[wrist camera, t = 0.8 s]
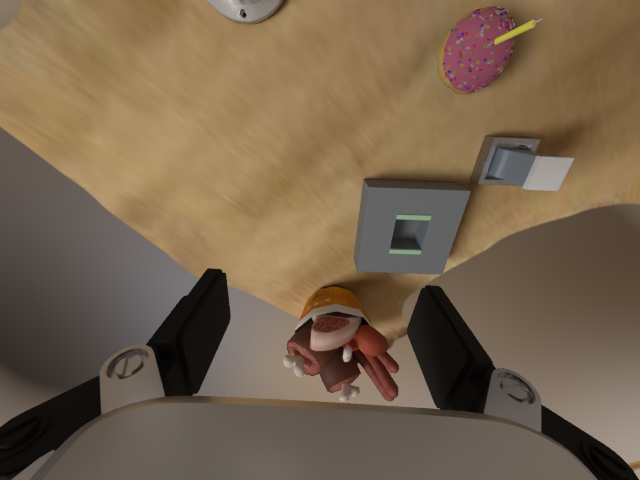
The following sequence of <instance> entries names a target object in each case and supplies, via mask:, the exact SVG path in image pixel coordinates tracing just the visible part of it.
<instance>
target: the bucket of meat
mask: <svg viewBox="0 0 640 480" xmlns="http://www.w3.org/2000/svg"><path fill="white" fill-rule="evenodd" d="M388 347H389V345H388V342H387V339H386V338H385V337H384V336H383V335H382V334H381V333H379V332H378V331H377V330H376V329H375V328H373V326H372V324H371V322H370V320H369V319H368V317H367V315H366V313H365V311H364V309H363V308H362V306H361V304H360V302H359V301H358V299H357V298H356V297H355V296H354V294H353V293H352V292H351V291H350V290H347V289H343V288H339V287H335V286H333V287H328V288H324V289H320V290H317V291H316V292H315V293H314V294H313V295H312V296H311V297H310V298H309V299H308V300H307V302H306V305H305V308H304V310H303V313H302V315H301V318H300V320H299V323H298V325H297V327H296V330H295V334H294V335H293V337H292V338H291V339H290V340H289V341H288V343H287V350H288V353H289V355H286V356H285V358H284V359H283V362H284V365H285V366H286V367H288V368H293V367H294V372H295V374H296V375H297V377H304V376H306V375H311V376H314V375H317V374H320V376H321V379H322V381H323V383H324V385H325V387H326V389H327V391H328V392H331V393H333V392H336V391H339V390H341V393H340V396H339V399H340V401H343V402H345V401H347V400H348V399H349V395H351V396H353V397H355V396H357V395H358V394H359V393H360V390H359V388H358V387H355V386H352V385H350V384H351V383H352V382H353V381H354V380H355V379H356V378H357V377H358V376H359V375H360V374H361V372H360V370H359V368H358V365H357V364H358V363H360V365H361V366H362V367H363V368H364V369H365V371H366V373H367V374H368V375H369V377H370V378H371V380H372V381H373V383H374V384H375V386H376V387H377V389H378V390H379V392H380V393H381V394H382V396H383V397H384V399H385V400H388V401H392V400H394V398H396V397H397V396H398V386H397V385H396V383H395V382H394V380H393V378H392V377H391V376H390V374H389V372H388V370H389V371H390V372H391V373H397V372H398V370H399V365H398V364H397V362H396V361H395V360H394V359H393V358H392V357H391V356H390V355H389V354H388V353H387V352H386V351H387V349H388ZM386 368H387V369H388V370H387V369H386Z"/></svg>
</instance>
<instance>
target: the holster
mask: <svg viewBox="0 0 640 480" xmlns="http://www.w3.org/2000/svg"><path fill="white" fill-rule="evenodd" d="M540 140H541V139H534V138H522V137H498V136H485V137H484V140H483V143H482V146H481V149H480V152H479V155H478V158H477V161H476V164H475V167H474V170H473V173H472V176H471V179H470V181H472V182H474V183H477V184H486V185H513V186H518V185H516V184H513V183H511V182H508V181H505V180H503V179H500V178H497V177H495V176H492V175H489V174H487V172H488V169H489V166H490V163H491V161H492V158H493V155H494V152H495V150H496V147H500V148H519V149H525V150H530V151H535V152H536V150H537V147H538V145H539V143H540Z"/></svg>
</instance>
